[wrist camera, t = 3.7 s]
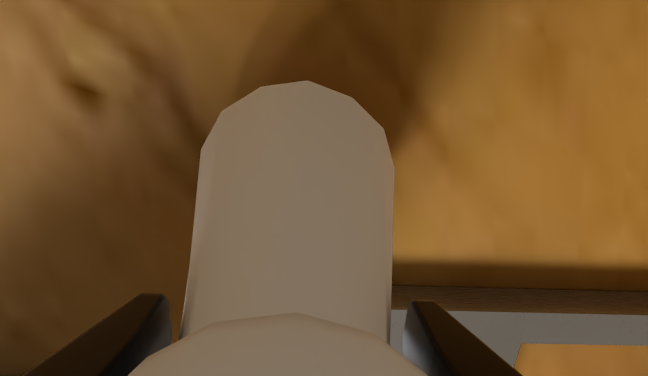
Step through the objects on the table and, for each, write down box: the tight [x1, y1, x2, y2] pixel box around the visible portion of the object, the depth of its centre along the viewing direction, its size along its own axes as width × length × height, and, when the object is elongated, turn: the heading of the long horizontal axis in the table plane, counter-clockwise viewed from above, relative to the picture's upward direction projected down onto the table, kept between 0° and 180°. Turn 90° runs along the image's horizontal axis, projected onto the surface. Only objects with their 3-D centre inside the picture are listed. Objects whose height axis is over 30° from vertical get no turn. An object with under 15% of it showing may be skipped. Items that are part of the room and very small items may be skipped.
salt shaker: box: [128, 80, 427, 376], centre depth 9 cm, size 6×6×13 cm
